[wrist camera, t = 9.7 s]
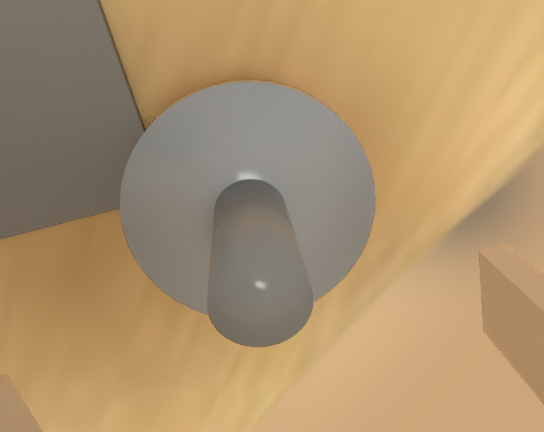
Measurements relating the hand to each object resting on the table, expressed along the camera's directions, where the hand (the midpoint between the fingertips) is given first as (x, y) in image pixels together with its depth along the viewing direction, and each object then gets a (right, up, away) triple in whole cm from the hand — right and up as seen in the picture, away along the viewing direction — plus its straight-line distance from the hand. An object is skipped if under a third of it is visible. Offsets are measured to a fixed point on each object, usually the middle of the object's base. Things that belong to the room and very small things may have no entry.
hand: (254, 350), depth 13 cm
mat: (-14, +10, +13) cm, 22 cm away
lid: (-1, +4, +11) cm, 12 cm away
